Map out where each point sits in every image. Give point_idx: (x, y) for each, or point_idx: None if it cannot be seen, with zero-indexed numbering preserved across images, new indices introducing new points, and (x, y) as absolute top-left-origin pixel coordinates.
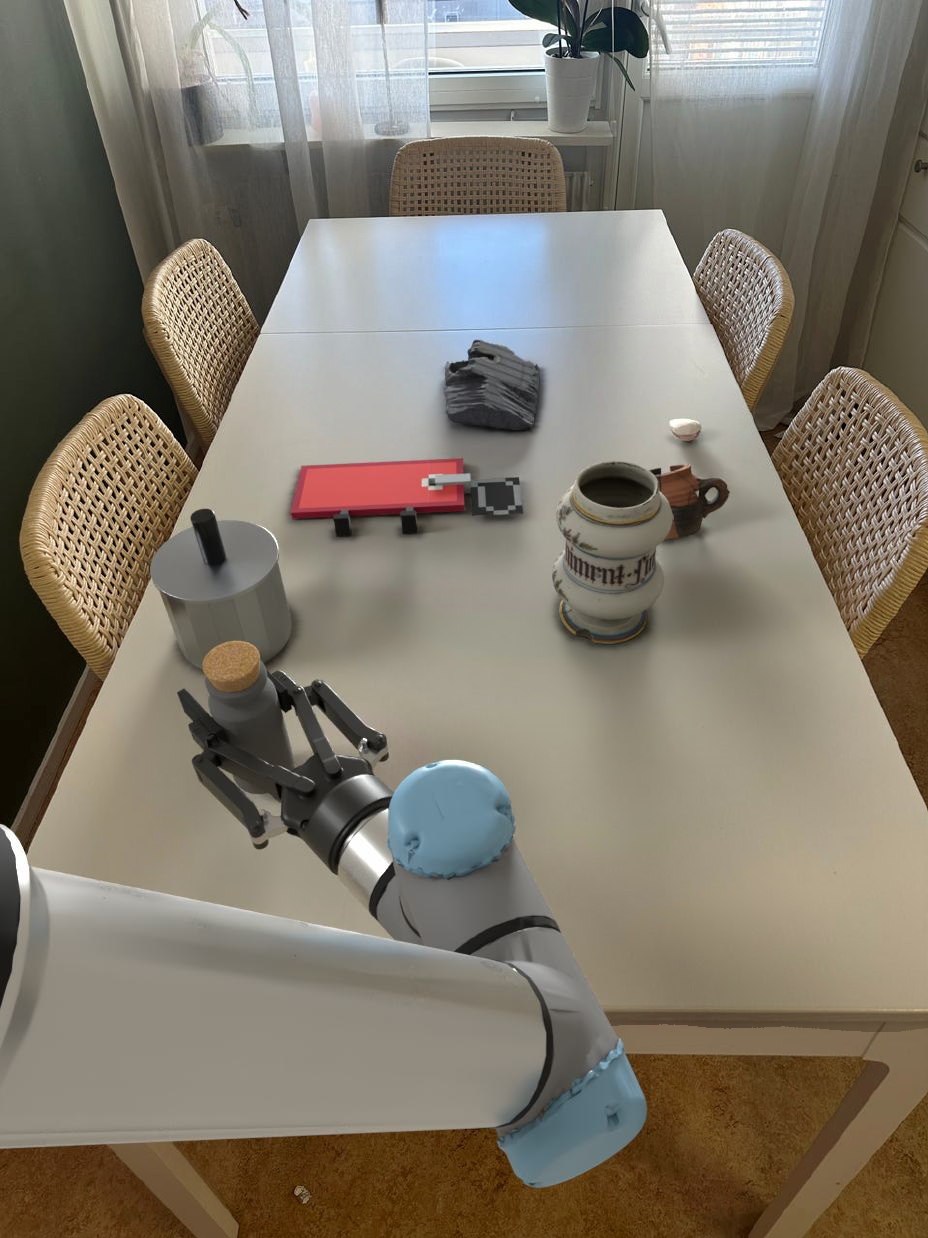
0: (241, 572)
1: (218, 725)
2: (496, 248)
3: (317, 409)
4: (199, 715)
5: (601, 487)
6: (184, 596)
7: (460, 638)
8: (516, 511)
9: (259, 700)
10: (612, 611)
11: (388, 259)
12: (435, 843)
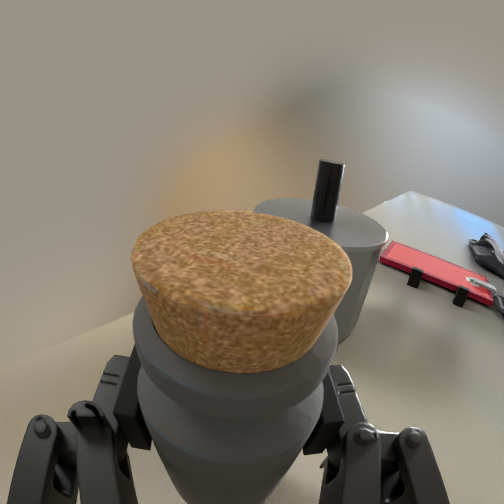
0: (343, 234)
1: (136, 402)
2: (478, 221)
3: (403, 228)
4: (133, 354)
5: None
6: None
7: (491, 407)
8: None
9: (258, 425)
10: None
11: (437, 206)
12: None
